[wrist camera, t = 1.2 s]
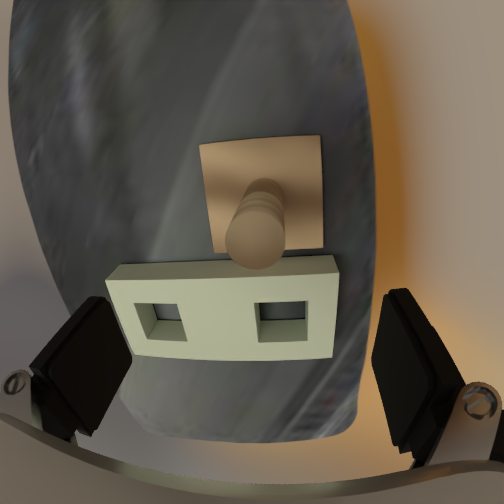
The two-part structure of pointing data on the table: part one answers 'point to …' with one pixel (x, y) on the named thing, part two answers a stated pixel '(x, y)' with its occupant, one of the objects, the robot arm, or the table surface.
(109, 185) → the table surface
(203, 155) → the cork mat
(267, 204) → the peg
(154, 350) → the hole block
